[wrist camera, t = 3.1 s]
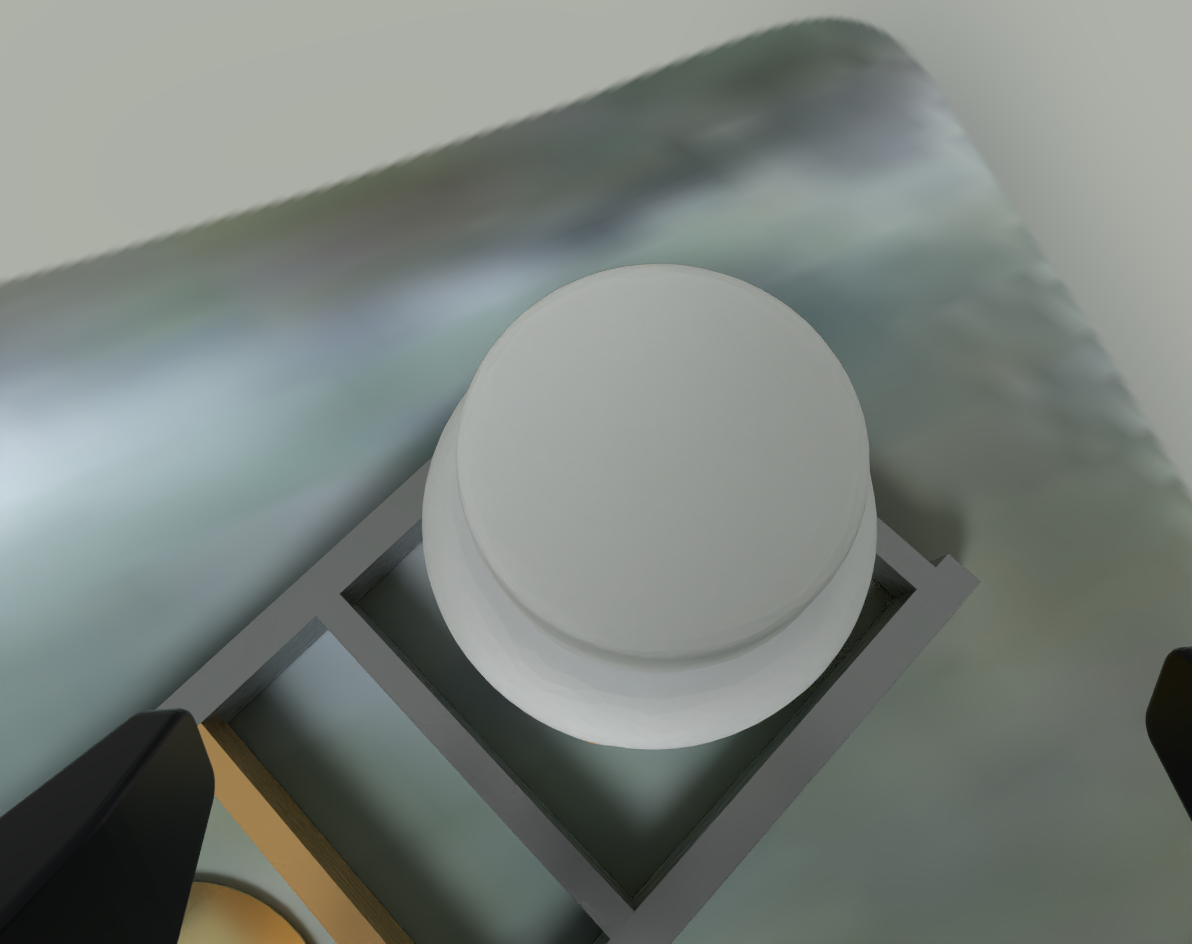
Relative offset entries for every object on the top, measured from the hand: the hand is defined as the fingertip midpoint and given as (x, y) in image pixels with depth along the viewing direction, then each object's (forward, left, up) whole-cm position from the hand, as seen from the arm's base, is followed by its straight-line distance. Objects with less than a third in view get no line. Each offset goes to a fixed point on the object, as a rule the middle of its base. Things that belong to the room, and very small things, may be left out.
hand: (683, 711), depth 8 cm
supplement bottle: (+2, -1, -10) cm, 10 cm away
